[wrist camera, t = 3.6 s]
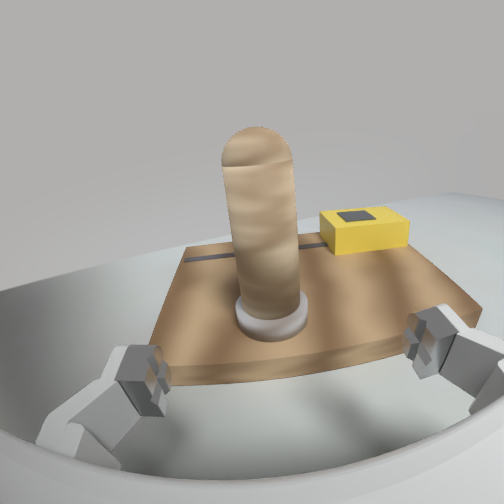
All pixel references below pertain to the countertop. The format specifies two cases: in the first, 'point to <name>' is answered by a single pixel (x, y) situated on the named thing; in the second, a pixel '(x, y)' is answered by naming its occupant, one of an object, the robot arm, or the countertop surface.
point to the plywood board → (319, 313)
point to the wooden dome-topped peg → (264, 234)
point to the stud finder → (363, 230)
